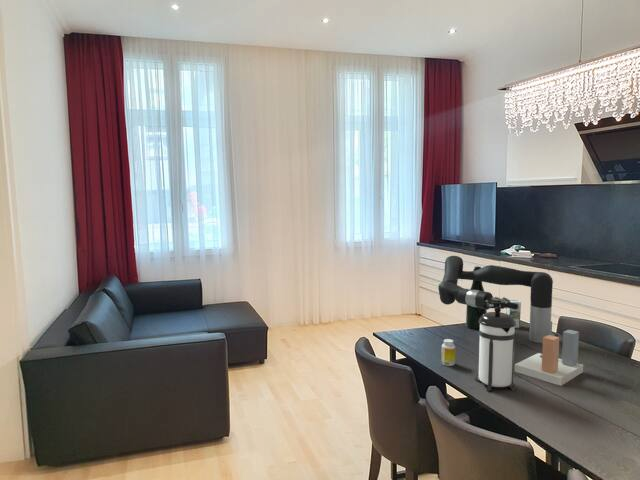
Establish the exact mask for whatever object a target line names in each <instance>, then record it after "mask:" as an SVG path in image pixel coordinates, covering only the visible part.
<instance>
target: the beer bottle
mask: <svg viewBox="0 0 640 480" xmlns="http://www.w3.org/2000/svg"><path fill="white" fill-rule="evenodd" d="M480 268H482V266H478V265H477V266H476V265H475V266H474V268H473V270H472V271H475V270H478V269H480ZM469 289H470V290H479V291H485V289H484V286H483V282H481V281H475V280H472V284H471V287H470V288H469ZM487 310H488V309H487ZM487 310H486V309H481V308H477V307H472V306H470V305H466V312H465V313H466V314H465V315H466V317H465V327H466V328H468V329H471V330H478V331H479V328H480V323H479V319H480V318H481V316H482V315H483V314H485V313H488V311H487Z"/></svg>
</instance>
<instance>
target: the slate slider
mask: <svg viewBox="0 0 640 480" xmlns="http://www.w3.org/2000/svg"><path fill="white" fill-rule="evenodd" d="M579 336H580V332H579V331H577V330H573V329H567V330H565V331H562V351H561V359H562V364H566V365H570V366H573V365H575V364H577V363H578V364H579V362H578V358H579V341H580V339H579V338H580V337H579Z"/></svg>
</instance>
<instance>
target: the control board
mask: <svg viewBox="0 0 640 480" xmlns="http://www.w3.org/2000/svg"><path fill="white" fill-rule="evenodd" d="M514 372H515V373H517V374H521V375H524V376H528V377H531V378H535V379H537V380H541V381H543V382H547V383H551V384H554V385H557V386H559V387H561V386H563V385H565V384H566V383H568V382H569V381H571V380H572V379H574V378H576V377H578V376H579V375H580V374H582V373H584V364H581V363H579V362H578V363H577V364H575V365H573V366H570V365H566V364H562V358H559V357H558V370H557V371H555V372H553V373H550V372H546V371H543V370H542V353H540V352H537V353H536V354H534V355H531V356H529V357H527V358H524V359H523V360H521V361H519V362H517V363H514Z"/></svg>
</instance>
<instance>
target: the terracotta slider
mask: <svg viewBox="0 0 640 480" xmlns="http://www.w3.org/2000/svg"><path fill="white" fill-rule="evenodd" d="M559 351H560V336H559V337H556V336H551V335H548V336H545V337H543V343H542V351H541V354H542V370H543V371H546V372H550V373H553V372H555V371H557V370H558V358H559V356H560V355H559V354H560V353H559Z"/></svg>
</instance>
